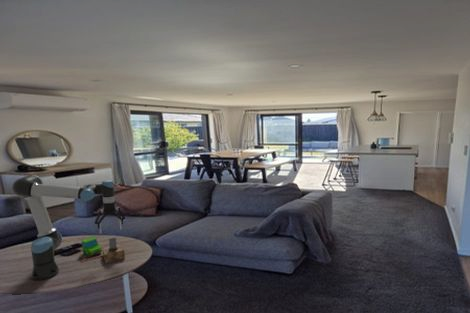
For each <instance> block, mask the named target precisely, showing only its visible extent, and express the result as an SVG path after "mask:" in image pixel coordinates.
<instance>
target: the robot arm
mask: <svg viewBox="0 0 470 313" xmlns="http://www.w3.org/2000/svg"><path fill="white" fill-rule="evenodd" d="M11 188H12V192H13V193H14V194H15V195H16V196H17V197H18V196H19V197H22V199H24V200H26V201H27V204H28V207H29V209H30V212H31V215H32V218H33V220H34V223H35V226H36V228H37V231H38V234H37V235H36V237H37V238H36V239H35V240H33V241H32V243H31V244H30V252H31V257H32V258H31V259H32V265H33V266H32V270H31V273H30V274H31V275H30V278H31V280H32V281H38V282H39V281H44V280H48V279H50V278H53V277H54V276H57V275H58V274H59V272H60V269H59V266H58V264H57V263H56V260H55V251H56V250H57V249H58V248H59V247H60V245H61V244H62V242H63V236H62V234H61V232H59V231H58V230H57V228H55V227H54V226H53V223H52V220H51V217H50V214H49V212H48V209H47V206H46V204H45V201H44V199H43V197H49V198H50V197H51V198H61V199H62V198H63V199H77V200H78V199H79V200H82V201H84V202H89V201H91V200H92V199H94V197H95V196H97V195H99V196H100V195H102V203H103V209H99V210H98V214H97V216H96V218H95V220H94V224H95V225H97V229H98V230H99V234H102V224H101V222H102V221H103V220H104V219H105V218H106V217H107V216H113V215H114V216H116V217H117V218H118V219H119V229H120V230H122V229H123V228H122V227H123V224H124V220H126V217H125V215H124V214H123V212H122V211H121V208H120V206H117V207H116V202H115V184H114V181H113V180H111V179H109V180H108V179H107V180H101V183H98V184H97V183H95V184H90V183H89V184H84V185H83V186H82V187H79V186H71V185H70V186H68V185H56V184H55V185H54V184H45V183H43V179H42V178H41V177H40V176H38V175H35V174H30V175H24V176H23V177H21V178H18V179H16V180H15V181H14V182H13V184H12V186H11ZM116 211H118V213H119V214H120V215H119V214H118V213H117V212H116ZM101 215H102V216H101Z"/></svg>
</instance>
